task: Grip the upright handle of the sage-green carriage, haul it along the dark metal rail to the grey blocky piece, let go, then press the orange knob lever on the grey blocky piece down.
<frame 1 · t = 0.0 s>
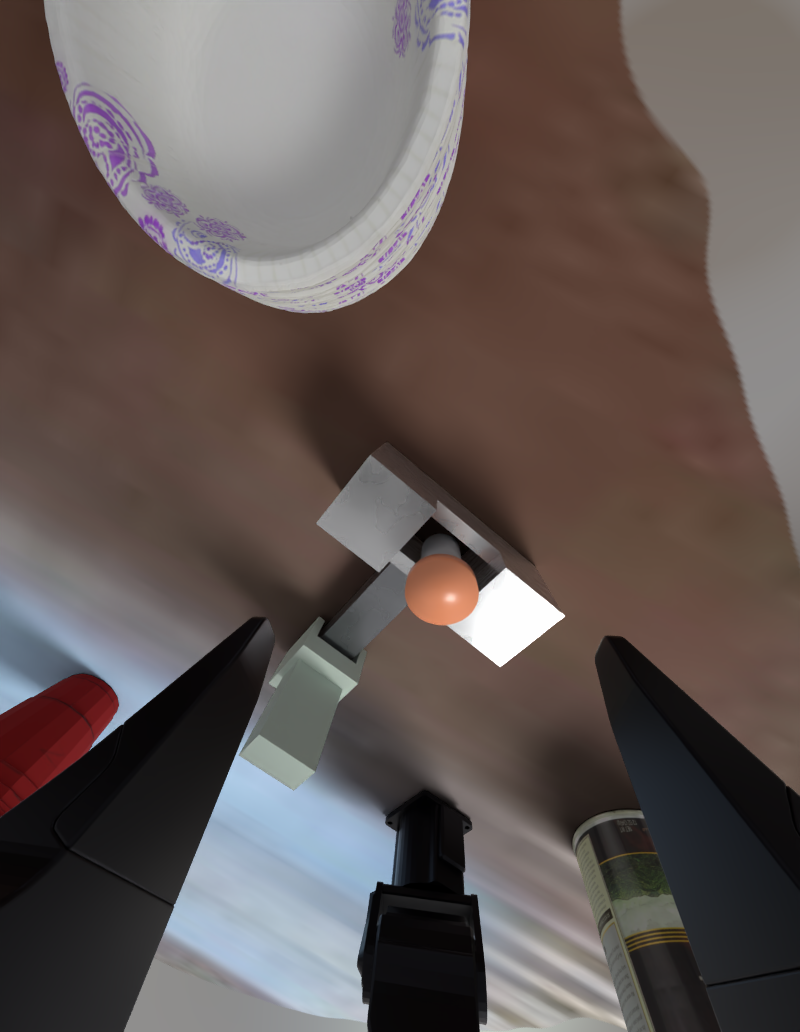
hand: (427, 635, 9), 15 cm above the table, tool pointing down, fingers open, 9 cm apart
rail: (356, 618, 28), on the table
paper bowls: (320, 173, 19), on the table
plastic cup: (96, 695, 35), on the table
orange knob lever: (440, 570, 19), point 6 cm above the table, slide at 0.0 cm
grey blocky piece: (440, 531, 25), on the table
carriage: (306, 697, 24), point 5 cm above the table, slide at 0.0 cm
coffee can: (625, 841, 33), on the table
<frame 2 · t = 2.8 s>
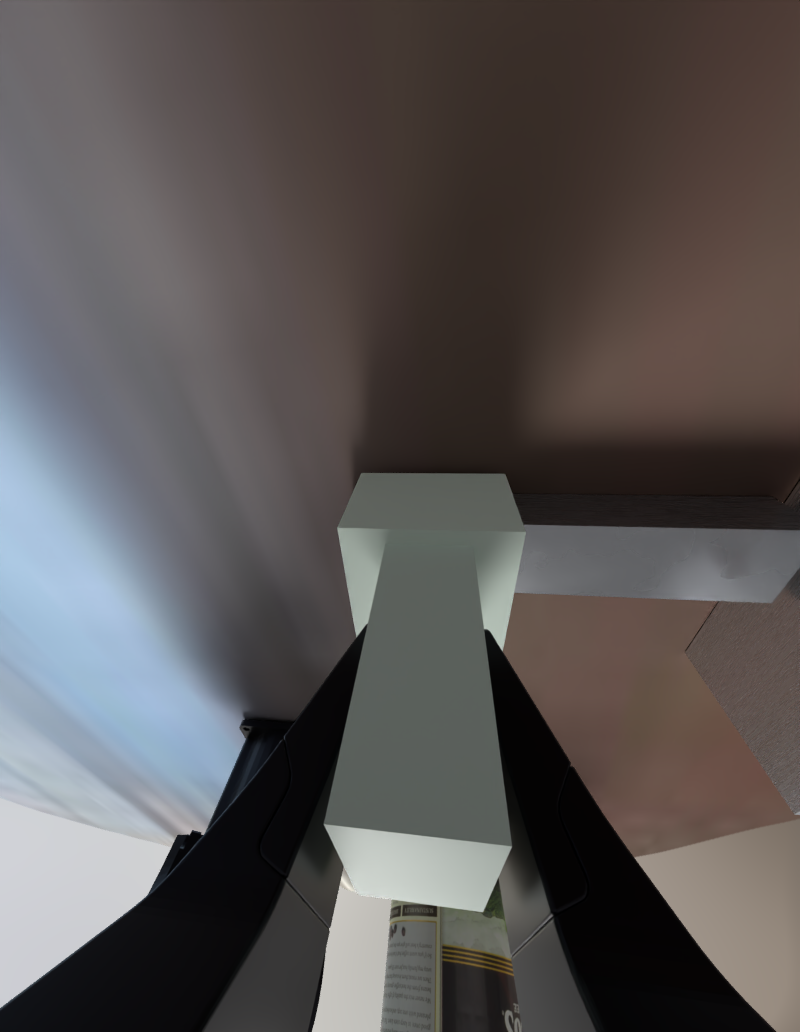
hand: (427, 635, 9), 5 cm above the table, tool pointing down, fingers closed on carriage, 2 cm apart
rail: (542, 528, 13), on the table
carriage: (427, 631, 9), point 5 cm above the table, slide at 0.0 cm, touching gripper
coffee can: (449, 824, 33), on the table
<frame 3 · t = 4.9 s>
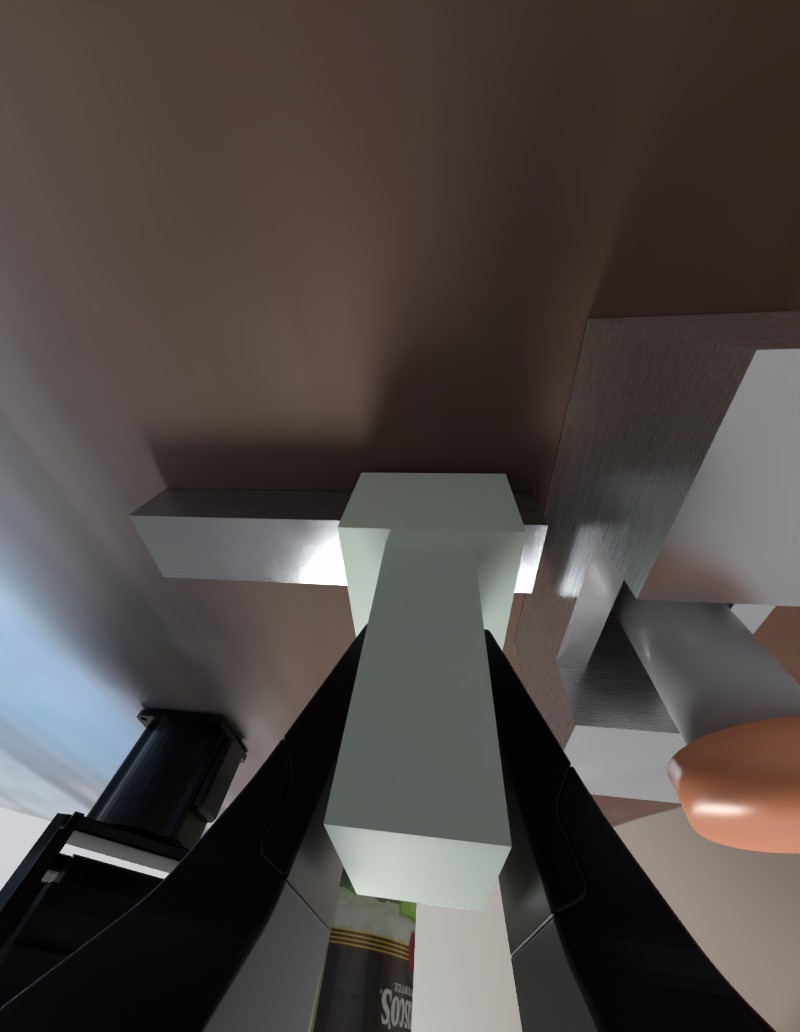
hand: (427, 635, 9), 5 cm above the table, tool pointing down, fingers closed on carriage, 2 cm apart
rail: (344, 523, 14), on the table
orange knob lever: (715, 680, 8), point 6 cm above the table, slide at 0.0 cm
grey blocky piece: (609, 529, 13), on the table
carriage: (427, 631, 9), point 5 cm above the table, slide at 7.8 cm, touching gripper
coffee can: (368, 814, 34), on the table
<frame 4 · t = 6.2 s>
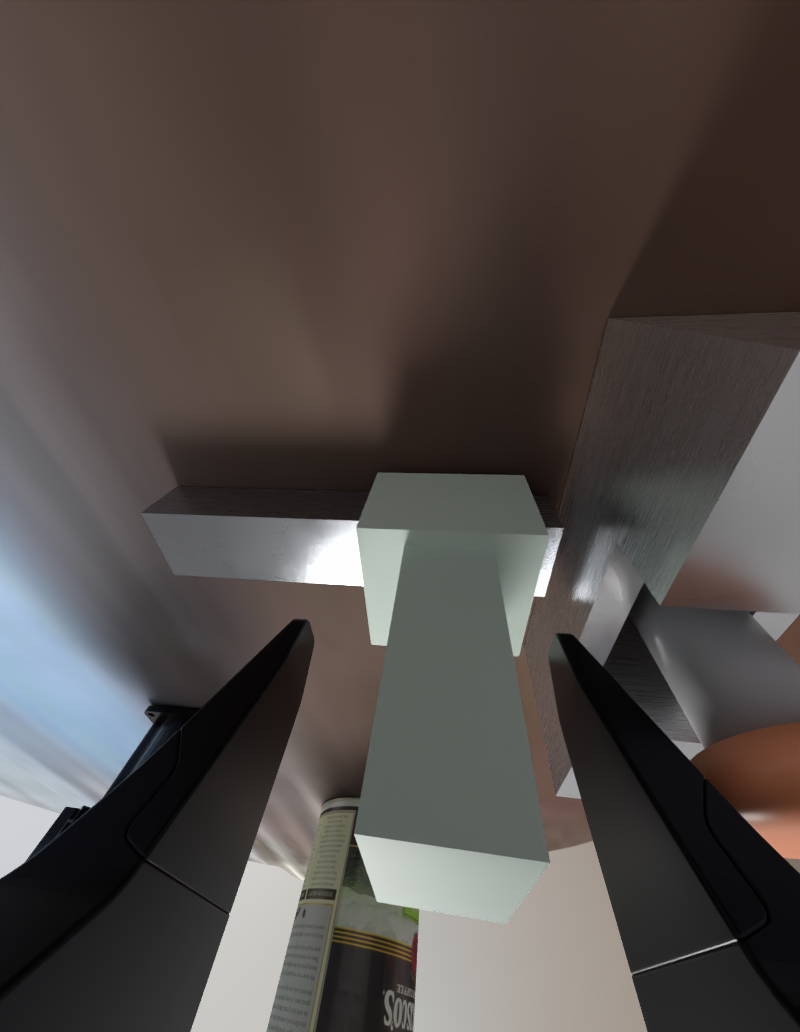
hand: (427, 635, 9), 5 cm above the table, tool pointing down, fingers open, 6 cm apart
rail: (354, 523, 14), on the table
orange knob lever: (733, 683, 8), point 6 cm above the table, slide at 0.1 cm, touching gripper
grey blocky piece: (624, 533, 13), on the table
carriage: (445, 634, 9), point 5 cm above the table, slide at 8.0 cm
coffee can: (372, 814, 33), on the table
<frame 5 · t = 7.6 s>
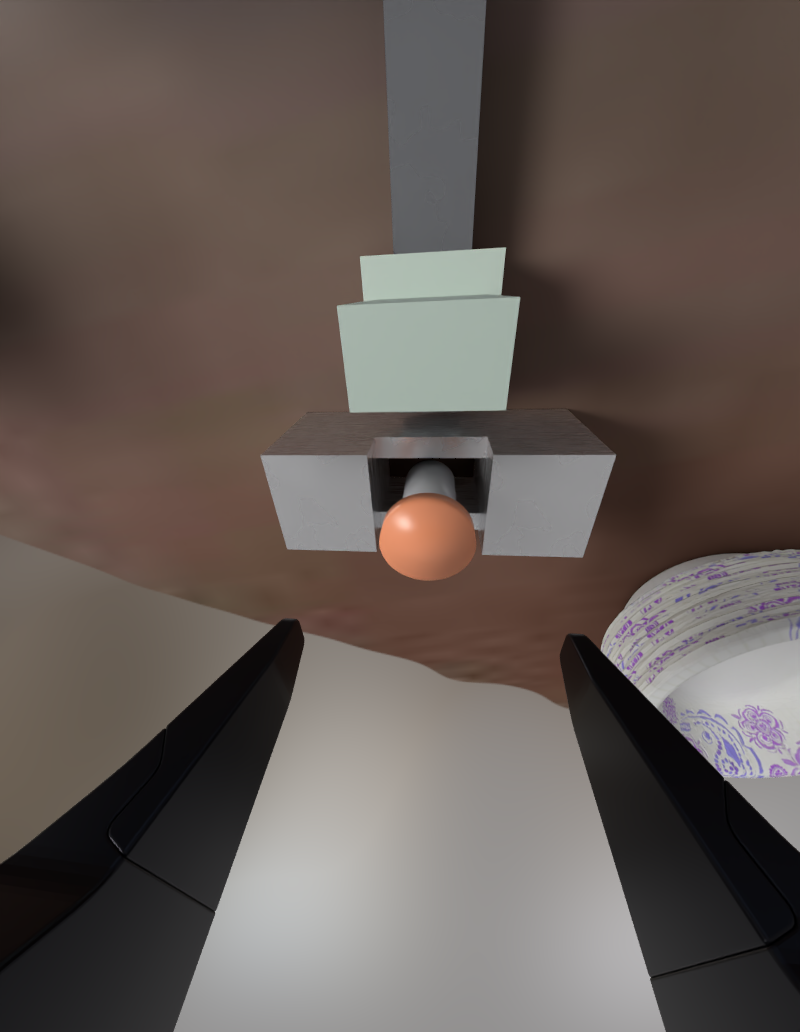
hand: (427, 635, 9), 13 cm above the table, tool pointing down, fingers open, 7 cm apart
rail: (433, 224, 14), on the table
paper bowls: (695, 601, 24), on the table
orange knob lever: (428, 509, 15), point 6 cm above the table, slide at -0.1 cm
grey blocky piece: (431, 453, 20), on the table
carriage: (430, 337, 12), point 5 cm above the table, slide at 8.0 cm
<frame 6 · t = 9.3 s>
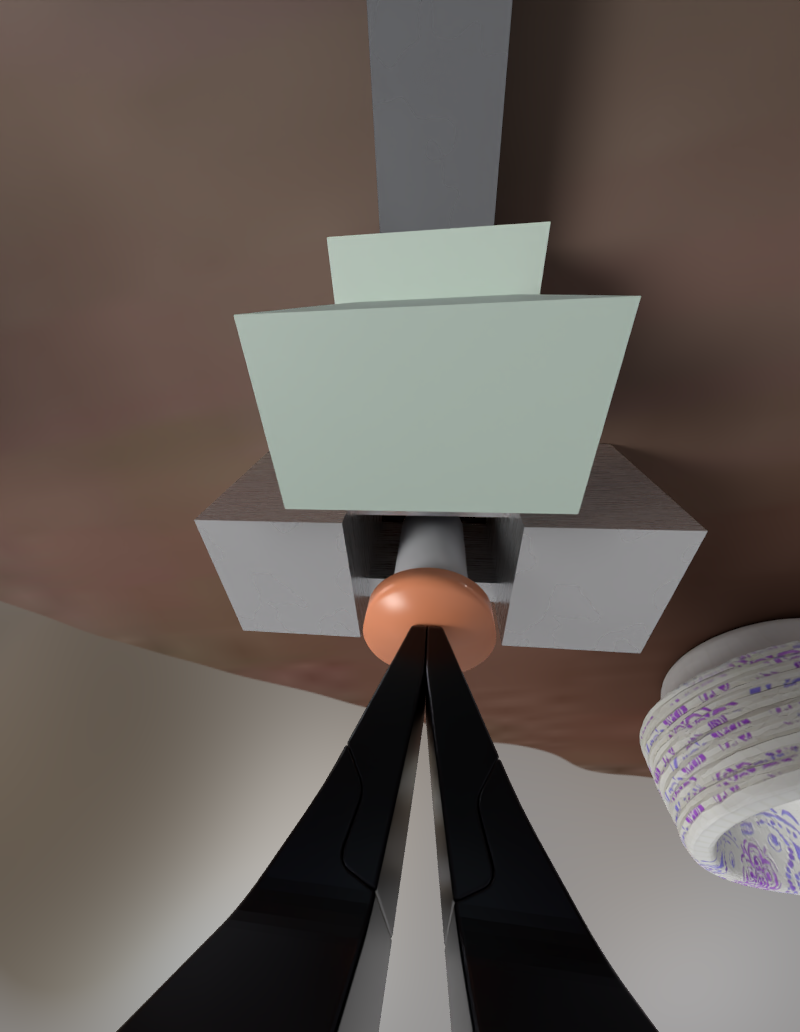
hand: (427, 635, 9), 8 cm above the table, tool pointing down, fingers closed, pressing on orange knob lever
rail: (437, 196, 10), on the table
paper bowls: (753, 666, 20), on the table
orange knob lever: (430, 574, 11), point 5 cm above the table, slide at 0.8 cm, touching gripper
grey blocky piece: (433, 495, 16), on the table
carriage: (432, 360, 8), point 5 cm above the table, slide at 8.0 cm
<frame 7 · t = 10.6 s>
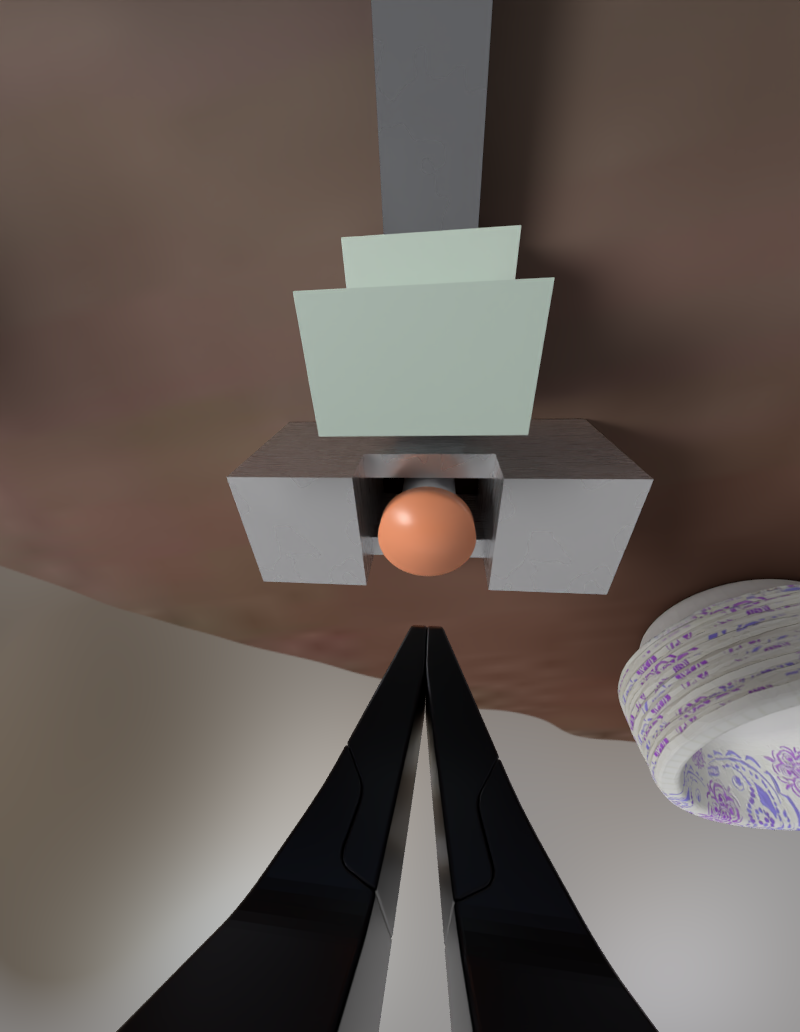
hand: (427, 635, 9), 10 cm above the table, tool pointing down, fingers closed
rail: (431, 202, 12), on the table
paper bowls: (722, 628, 22), on the table
orange knob lever: (428, 504, 15), point 4 cm above the table, slide at 2.4 cm
grey blocky piece: (430, 468, 18), on the table
carriage: (427, 337, 10), point 5 cm above the table, slide at 8.0 cm
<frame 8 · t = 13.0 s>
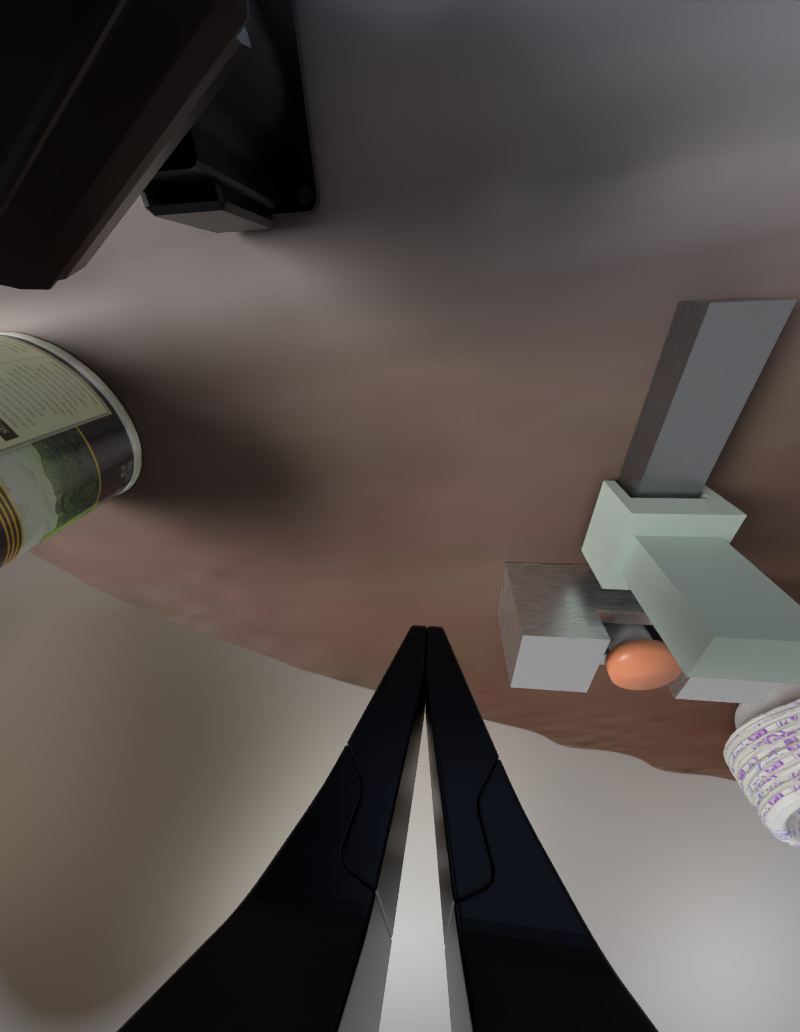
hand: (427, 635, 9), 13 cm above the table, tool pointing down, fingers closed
rail: (655, 457, 19), on the table
orange knob lever: (625, 634, 21), point 4 cm above the table, slide at 2.4 cm
grey blocky piece: (602, 592, 24), on the table
carriage: (683, 572, 16), point 5 cm above the table, slide at 8.0 cm
coffee can: (62, 422, 21), on the table
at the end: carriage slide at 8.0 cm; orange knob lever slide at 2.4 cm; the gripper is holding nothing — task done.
